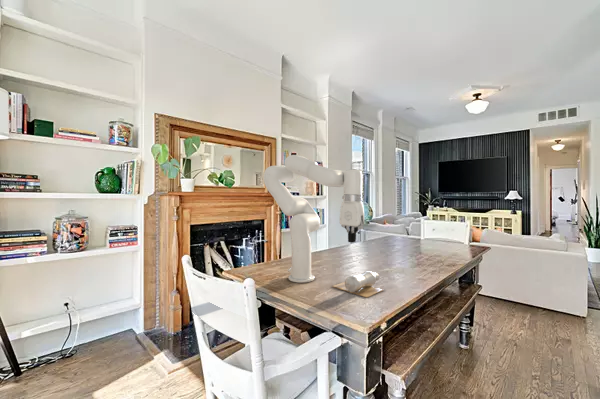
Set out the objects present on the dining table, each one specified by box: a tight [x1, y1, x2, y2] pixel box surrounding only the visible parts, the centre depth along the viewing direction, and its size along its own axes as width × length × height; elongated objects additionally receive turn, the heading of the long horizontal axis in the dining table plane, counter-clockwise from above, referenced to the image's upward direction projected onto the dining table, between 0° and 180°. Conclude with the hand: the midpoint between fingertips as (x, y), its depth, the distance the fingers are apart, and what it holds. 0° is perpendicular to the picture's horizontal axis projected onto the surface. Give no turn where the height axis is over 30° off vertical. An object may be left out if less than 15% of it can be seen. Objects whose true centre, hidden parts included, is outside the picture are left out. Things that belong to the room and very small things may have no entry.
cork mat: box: [332, 281, 384, 298], centre depth 122 cm, size 18×12×1 cm, turn 42°
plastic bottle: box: [344, 270, 380, 293], centre depth 122 cm, size 6×7×20 cm
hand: (351, 241), depth 120 cm, fingers closed
